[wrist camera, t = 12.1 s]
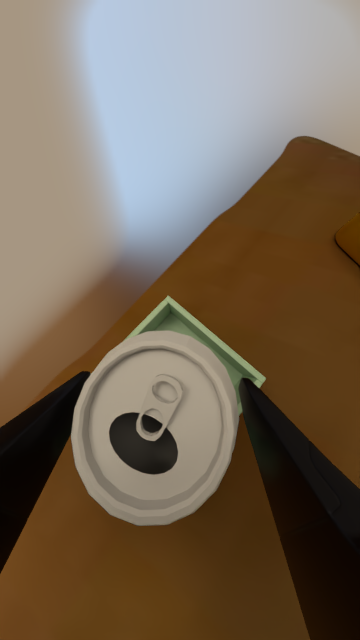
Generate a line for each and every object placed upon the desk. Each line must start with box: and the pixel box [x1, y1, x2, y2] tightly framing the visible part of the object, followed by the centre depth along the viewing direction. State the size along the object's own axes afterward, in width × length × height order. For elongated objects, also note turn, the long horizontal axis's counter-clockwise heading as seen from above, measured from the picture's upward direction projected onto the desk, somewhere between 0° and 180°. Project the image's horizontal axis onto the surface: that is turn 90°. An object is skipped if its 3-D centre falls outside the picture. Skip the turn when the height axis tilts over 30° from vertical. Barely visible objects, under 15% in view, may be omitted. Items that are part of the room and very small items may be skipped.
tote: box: [91, 296, 266, 415], centre depth 16 cm, size 12×12×4 cm
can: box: [71, 331, 239, 526], centre depth 11 cm, size 8×8×12 cm
